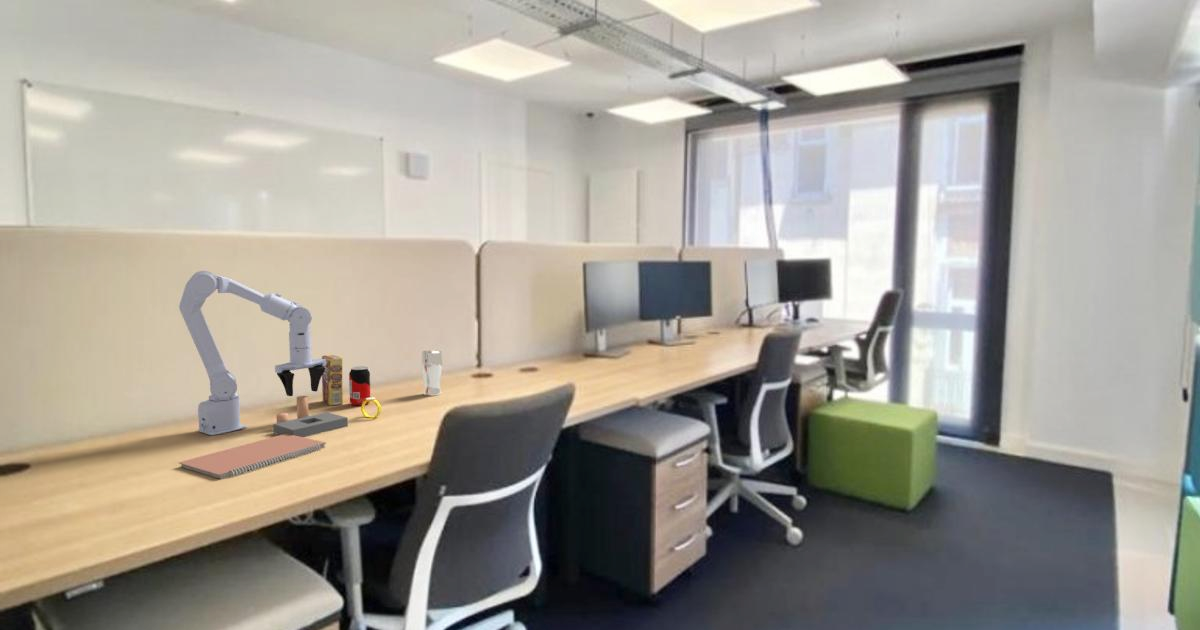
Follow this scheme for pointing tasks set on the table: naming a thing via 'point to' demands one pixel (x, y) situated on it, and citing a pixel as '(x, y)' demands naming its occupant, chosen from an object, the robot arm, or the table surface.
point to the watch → (375, 403)
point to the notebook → (252, 455)
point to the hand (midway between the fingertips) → (302, 393)
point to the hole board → (311, 424)
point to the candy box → (332, 380)
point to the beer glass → (432, 372)
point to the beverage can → (359, 385)
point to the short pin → (282, 417)
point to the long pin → (302, 406)
